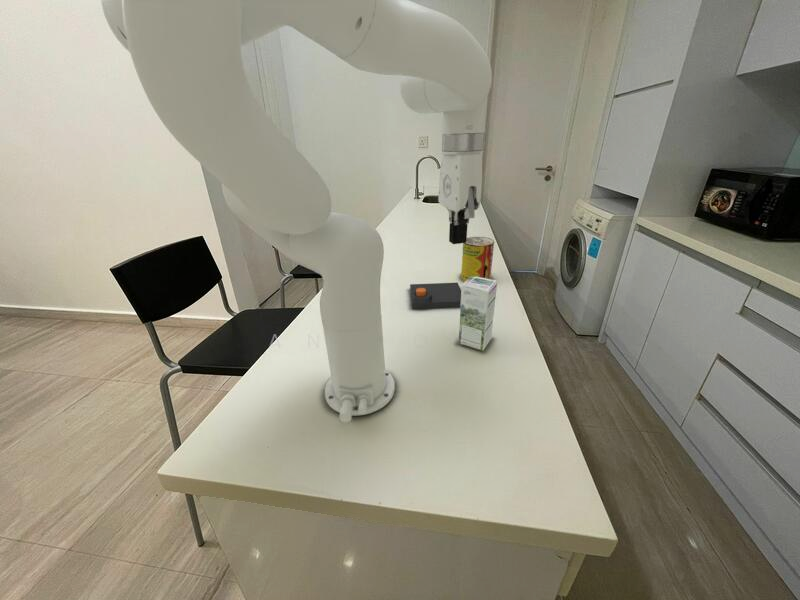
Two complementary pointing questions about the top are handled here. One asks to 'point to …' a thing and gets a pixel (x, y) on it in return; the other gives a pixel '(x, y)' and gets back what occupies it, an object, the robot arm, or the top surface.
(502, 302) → the top surface
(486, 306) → the syrup box
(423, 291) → the button
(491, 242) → the yellow red tin can
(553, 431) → the top surface
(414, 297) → the scale
